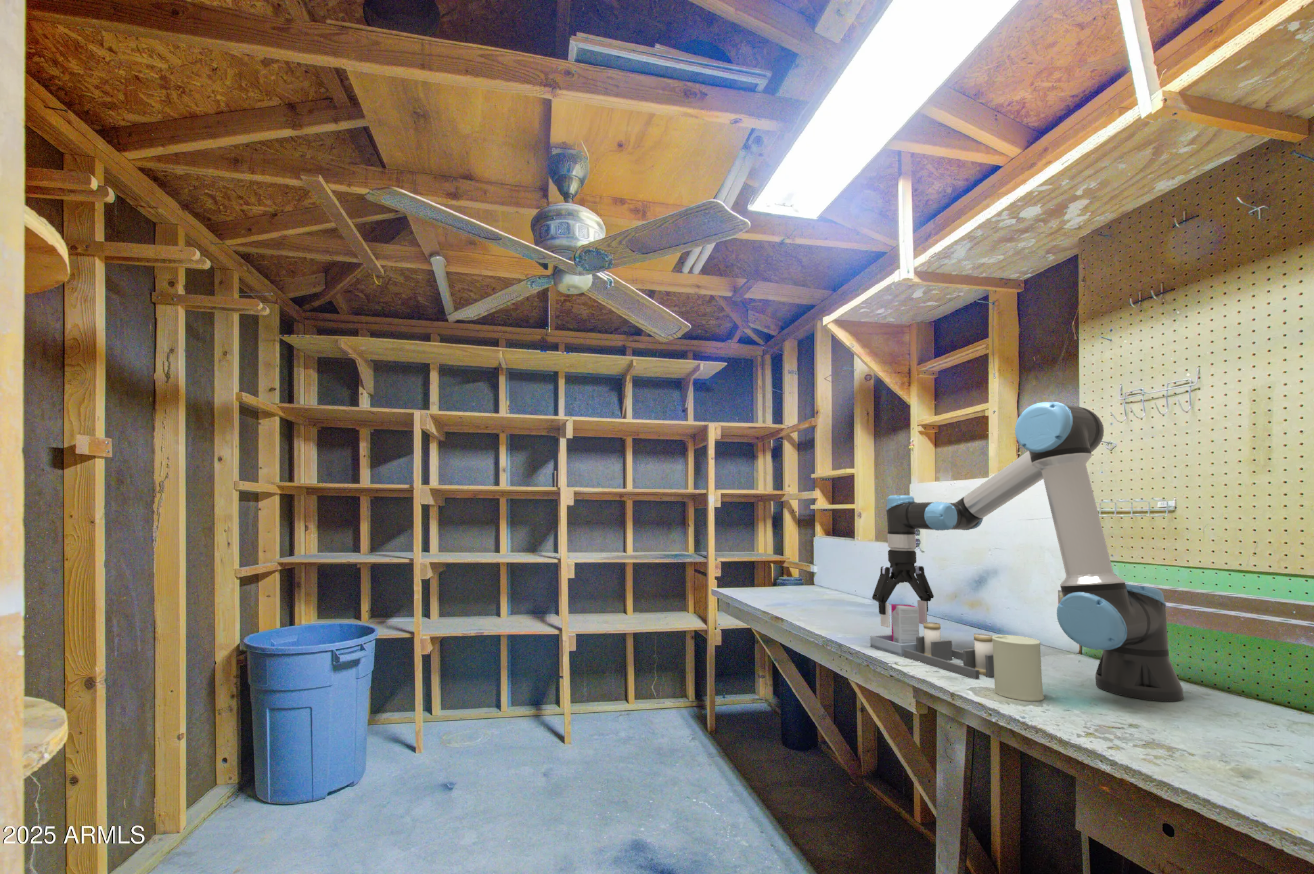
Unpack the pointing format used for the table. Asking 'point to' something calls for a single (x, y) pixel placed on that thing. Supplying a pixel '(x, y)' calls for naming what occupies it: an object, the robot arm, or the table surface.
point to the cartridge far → (931, 635)
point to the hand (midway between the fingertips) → (904, 625)
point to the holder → (949, 658)
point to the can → (1017, 667)
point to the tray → (890, 645)
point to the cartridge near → (982, 651)
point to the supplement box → (904, 623)
